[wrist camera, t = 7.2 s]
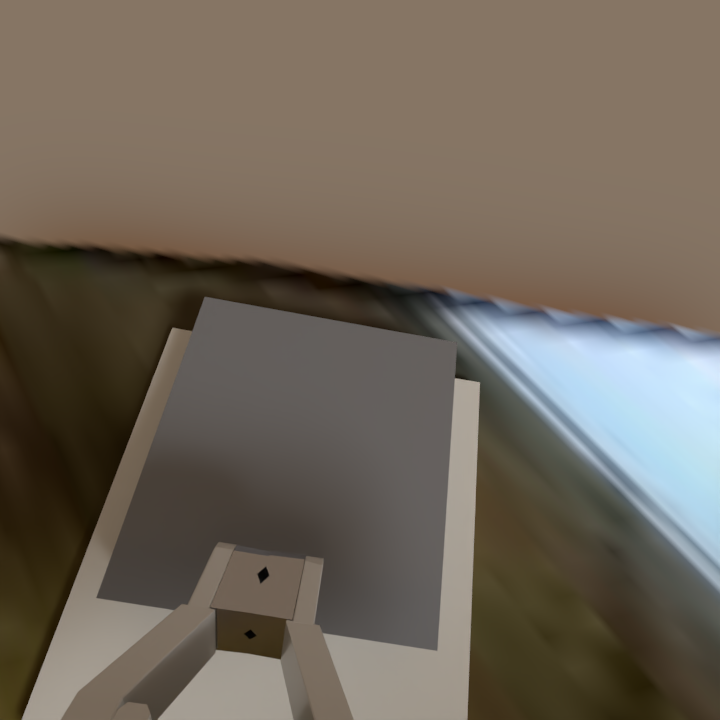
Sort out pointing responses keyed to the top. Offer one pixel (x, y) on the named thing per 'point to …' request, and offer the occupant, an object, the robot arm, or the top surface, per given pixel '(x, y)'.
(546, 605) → the top surface
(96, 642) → the beige mat
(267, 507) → the slate tile
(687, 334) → the top surface
